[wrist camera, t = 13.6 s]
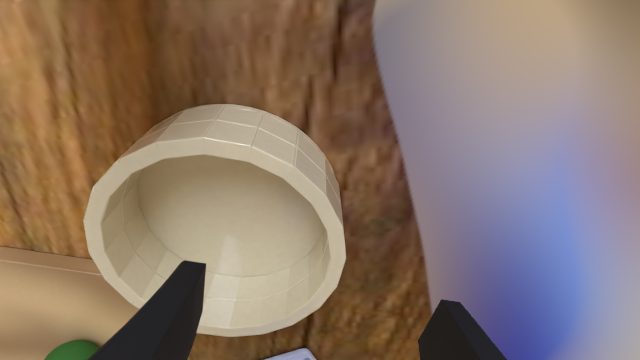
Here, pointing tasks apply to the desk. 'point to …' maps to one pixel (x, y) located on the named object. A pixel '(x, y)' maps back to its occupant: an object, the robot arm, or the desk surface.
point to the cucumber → (73, 351)
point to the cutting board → (54, 303)
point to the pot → (222, 217)
